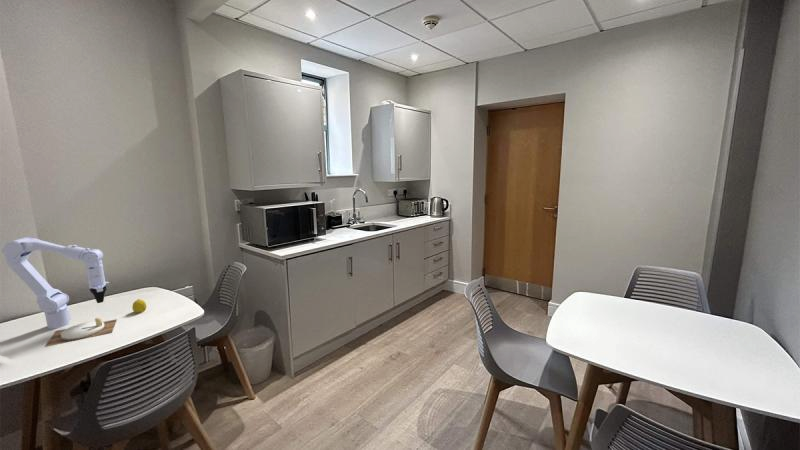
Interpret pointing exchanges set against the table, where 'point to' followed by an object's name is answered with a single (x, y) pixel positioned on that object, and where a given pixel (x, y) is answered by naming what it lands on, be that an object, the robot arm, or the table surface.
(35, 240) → the robot arm
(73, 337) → the dial
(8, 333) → the table surface
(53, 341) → the brown flat wooden board
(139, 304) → the lemon
